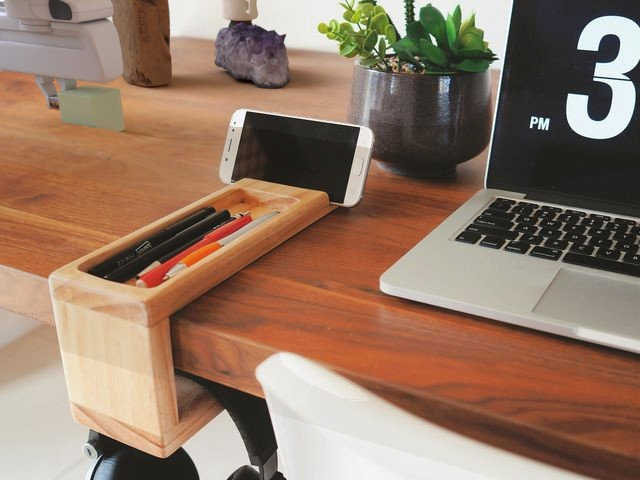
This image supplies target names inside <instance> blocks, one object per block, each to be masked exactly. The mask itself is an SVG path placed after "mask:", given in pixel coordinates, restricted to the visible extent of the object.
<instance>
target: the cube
mask: <svg viewBox="0 0 640 480" xmlns="http://www.w3.org/2000/svg"><path fill="white" fill-rule="evenodd" d="M57 96H58V102H59V108H60V111H59V113H60V120H61V123H62V124H67V125H75V126H81V127H88V128H92V129H93V128H94V129H100V130H106V131H110V132H111V131H112V132H118V133H121V132H123V131H126V125H125V118H124V110H123V102H122V94H121V89H120V88H115V87H107V86H102V85H101V86H100V85H99V86H98V85H93V84H84V85H81V86H76V88H73V89H69V90H65V91H62V92H60V91H58V93H57Z"/></svg>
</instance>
